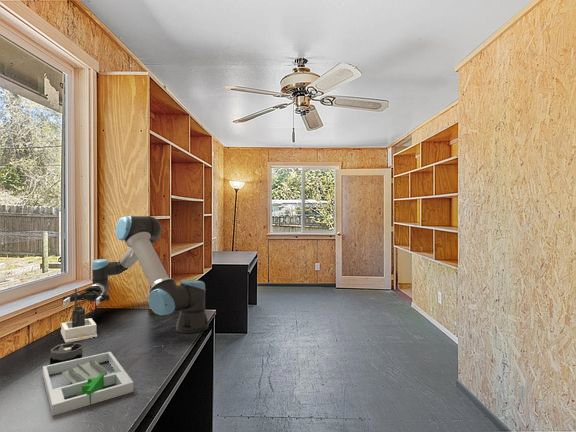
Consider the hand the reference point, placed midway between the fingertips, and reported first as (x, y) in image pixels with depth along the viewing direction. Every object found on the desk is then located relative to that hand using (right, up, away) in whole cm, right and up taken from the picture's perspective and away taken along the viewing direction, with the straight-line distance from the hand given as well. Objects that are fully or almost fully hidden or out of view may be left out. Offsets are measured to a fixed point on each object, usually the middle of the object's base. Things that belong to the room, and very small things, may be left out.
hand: (80, 302), depth 159 cm
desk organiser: (+30, -15, -46) cm, 57 cm away
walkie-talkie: (+1, -13, -3) cm, 13 cm away
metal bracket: (+29, -15, -44) cm, 55 cm away
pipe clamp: (+36, -15, -54) cm, 66 cm away
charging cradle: (+1, -14, -3) cm, 14 cm away
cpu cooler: (+13, -15, -31) cm, 37 cm away
